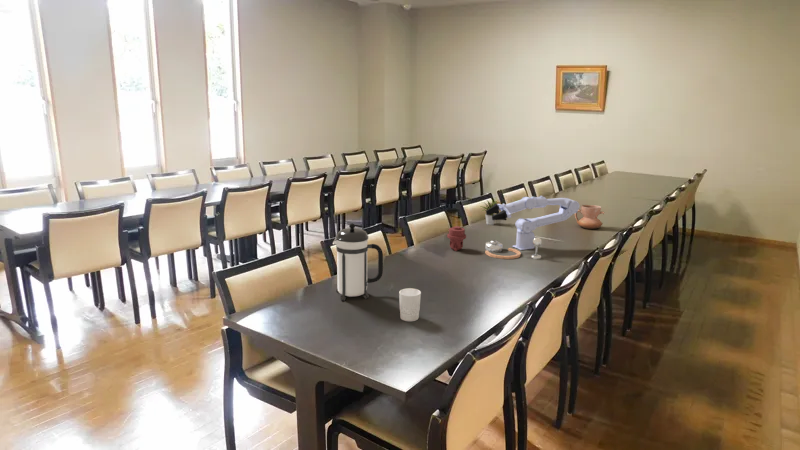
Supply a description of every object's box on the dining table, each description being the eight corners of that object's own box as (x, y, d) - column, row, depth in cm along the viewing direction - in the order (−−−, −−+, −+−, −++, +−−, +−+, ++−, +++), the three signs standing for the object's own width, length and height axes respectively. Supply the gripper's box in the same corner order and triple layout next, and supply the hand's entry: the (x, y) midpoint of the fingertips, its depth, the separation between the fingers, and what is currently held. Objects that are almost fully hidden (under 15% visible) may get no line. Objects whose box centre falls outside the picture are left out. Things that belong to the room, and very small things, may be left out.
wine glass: (530, 256, 266) (532, 235, 264) (540, 256, 265) (542, 236, 263) (531, 258, 262) (532, 238, 259) (541, 259, 261) (542, 239, 258)
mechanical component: (466, 247, 280) (464, 252, 271) (447, 246, 282) (445, 251, 272) (467, 225, 277) (465, 229, 268) (448, 224, 279) (446, 228, 270)
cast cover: (496, 247, 283) (496, 238, 282) (505, 251, 275) (506, 242, 274) (482, 248, 279) (482, 239, 278) (491, 253, 271) (491, 243, 270)
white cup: (397, 313, 191) (398, 288, 189) (418, 313, 192) (419, 288, 189) (399, 322, 183) (400, 296, 181) (421, 322, 184) (422, 295, 182)
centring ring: (511, 249, 277) (511, 247, 277) (527, 256, 265) (527, 254, 265) (483, 252, 270) (483, 250, 270) (498, 260, 258) (498, 258, 258)
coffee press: (358, 305, 198) (358, 230, 191) (326, 297, 206) (325, 224, 199) (383, 292, 212) (384, 221, 205) (352, 284, 220) (352, 216, 213)
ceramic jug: (604, 227, 333) (606, 205, 330) (601, 231, 321) (603, 209, 318) (575, 224, 341) (577, 203, 338) (571, 228, 329) (573, 206, 326)
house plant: (485, 220, 347) (487, 196, 343) (504, 223, 339) (506, 198, 336) (475, 223, 336) (477, 199, 332) (495, 227, 328) (496, 201, 324)
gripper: (505, 196, 279) (482, 203, 277) (518, 206, 266) (494, 214, 265) (507, 207, 282) (484, 214, 281) (519, 218, 270) (495, 226, 268)
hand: (489, 215), depth 273 cm, fingers open, 7 cm apart
